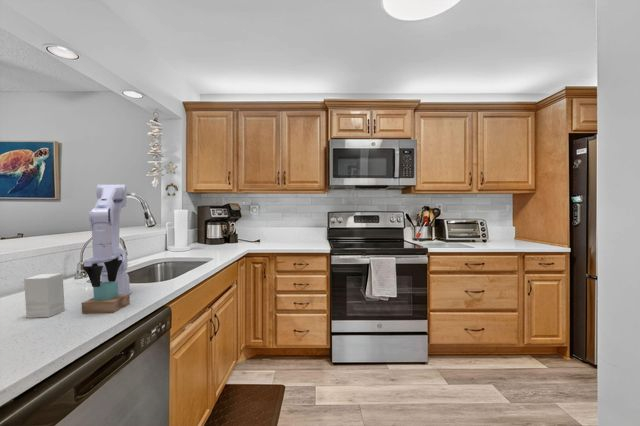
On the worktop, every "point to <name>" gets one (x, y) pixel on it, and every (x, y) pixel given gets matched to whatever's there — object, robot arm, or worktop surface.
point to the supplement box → (44, 295)
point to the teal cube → (106, 291)
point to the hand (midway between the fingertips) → (104, 284)
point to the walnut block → (105, 305)
